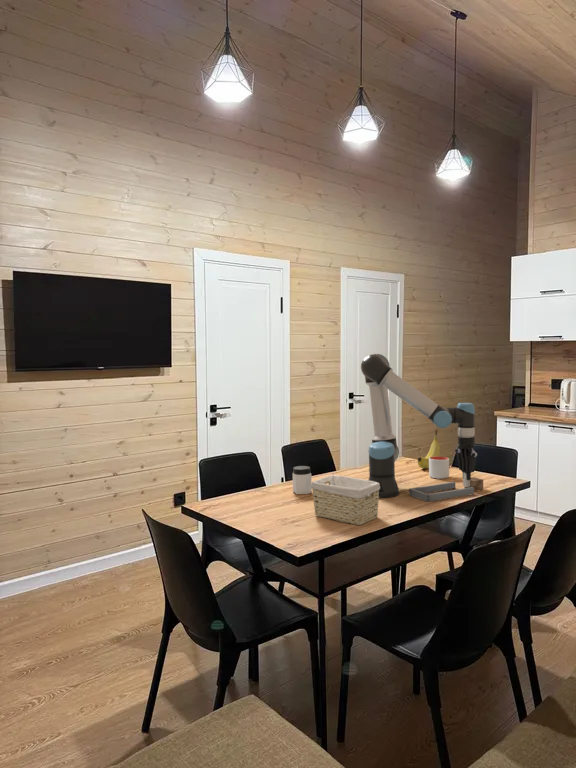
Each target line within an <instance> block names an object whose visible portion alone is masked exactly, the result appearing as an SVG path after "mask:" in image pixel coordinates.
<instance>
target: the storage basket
mask: <svg viewBox="0 0 576 768" xmlns="http://www.w3.org/2000/svg"><path fill="white" fill-rule="evenodd" d="M311 484H312V485H311V488H312V496H313V507H314V514H315V516H317V517H321V518H325V519H329V520H334V521H338V522H340V523H346V524H347V523H348V524H351V525H356V526H361V525H363V524H365V523H368V522H371V521H372V520H375V519H376V518H377V517H378V515H379V514H378V513H379V502H380V500H379V498H380V497H379V489H380V484H379V483H377V482H374V481H369V479H368V480H367V479H362V478H357V477H356V478H355V477H350V476H345V475H337V474H336V475H335V474H331V475H328V476H324V477H322V478H318V479H316V480H313V481H311Z"/></svg>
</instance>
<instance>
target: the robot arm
mask: <svg viewBox="0 0 576 768" xmlns="http://www.w3.org/2000/svg"><path fill="white" fill-rule="evenodd" d="M361 361H362V362H361V365H360V369H361V373H362V374H363V376H364V380H365V384H366V385H367V386H368V387H369V395H370V398H369V399H370V404H371V405H370V406H371V414H372V421H373V422H372V423H373V433H374V435H373V436H372V438H371V444H369V447H368V467H369V468H368V472H369V473H368V475H369V477H368V480H369V481H374V482H377V483H379V484H380V489H379V498H381V499H383V498H386V499H387V498H393V497H397V496H399V494H400V489H399V486H398V483H397V482H398V481H397V480H396V476H395V473H396V472H395V471H396V470H395V469H396V468H395V467H396V466H395V462H396V461H397V460H398V457H399V454H400V451H399V450H400V449H399V447H398V443H397V436H396V435H395V434H394V433H393V427H392V418H391V417H392V416H391V409H390V399H389V392H391V393H393V394H394V395H396V396H397V397H398V398H400V399H401V400H402V401H404V402H405V403H406V404H408V405H409V406H411V407H413V409H415V410H416V411H418V412H419V413H420V414H422V415H423V416H425V417H426V418H428V420H430V421H431V423H432V424H434V425H435V426H436V427H438V428H440V429H446V428H448V427H449V426H450V425H452V424H457V436H458V437H457V444H458V448H457V449H455V454H456V458H457V464H458V469H459V471H460V472H462V481H463V482H462V485H463V488H464V487H469V486H470V480H471V477H472V475H471V474H472V473H475V471H476V470H475V469H476V463H477V458H478V456H479V453H478V452H476V451H475V448H474V445H476V437H475V435H476V434H475V433H476V432H475V431H476V430H475V428H476V426H475V425H476V424H475V422H476V421H475V420H476V418H475V417H476V415H475V414H476V411H475V404H474V403H472V402H458V403H457V405H456V406H455V407H450V406H449V407H443V406H440V405H439V404H438V403H436V402H435V401H433V399H430V398H429V397H428V396H426V395H425V394H424V393H423V392H421V391H419V390H418V389H417V388H415V387H414V386H413V385H411V384H410V383H408V381H406V380H405V379H403V378H402V377H401V376H400V375H398V374H396V373H394V371H393V368H392V367H391V366H390V362H389V360H388V358H387V357H385V356H384V355H383V354H379V353H373V354H368V355H366V357H364V358H363V359H362V360H361Z"/></svg>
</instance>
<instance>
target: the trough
mask: <svg viewBox="0 0 576 768" xmlns="http://www.w3.org/2000/svg"><path fill="white" fill-rule="evenodd" d="M452 488H455V489H452ZM446 489H450V490H446ZM440 490H443V491H440ZM435 491H437V492H435ZM469 494H472V495H475V491H474V488H473V487H470V488H464V487H463V488H459V489H456V482H455V481H451V482H450V481H449V482H444V483H443V482H442V483H437V484H431V485H423V486H418V487H412V488H409V489H408V495H409V496H411V497H413V498H415V499H418V498H419V500H421V501H425V502H426V503H431V502H436V501H435V500H437V501H441V500H440V499H443V500H446V499H445V498H449V499H452V498H451V497H455V498H458V497H457V496H460V497H464V496H463V495H466V496H470V495H469ZM430 501H431V502H430Z"/></svg>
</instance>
